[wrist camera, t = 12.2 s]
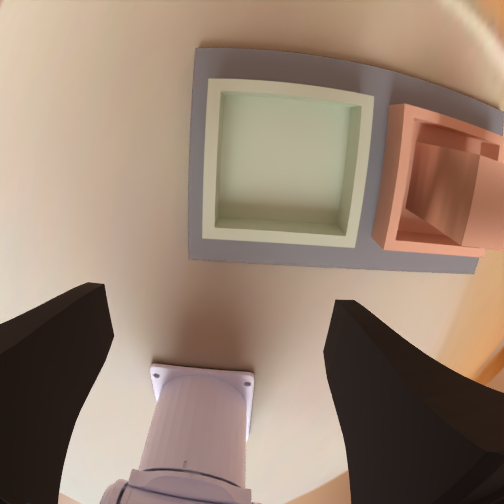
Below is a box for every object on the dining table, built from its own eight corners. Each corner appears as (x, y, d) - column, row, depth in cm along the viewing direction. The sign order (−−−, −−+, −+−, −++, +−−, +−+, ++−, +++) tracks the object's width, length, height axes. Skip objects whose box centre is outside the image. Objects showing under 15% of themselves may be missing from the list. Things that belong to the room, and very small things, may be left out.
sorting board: (469, 270, 19) (488, 286, 17) (190, 255, 19) (181, 274, 16) (498, 111, 15) (523, 114, 12) (197, 50, 14) (188, 38, 12)
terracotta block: (454, 216, 17) (513, 252, 11) (405, 208, 17) (461, 245, 11) (465, 156, 15) (531, 175, 10) (415, 142, 15) (480, 154, 10)
